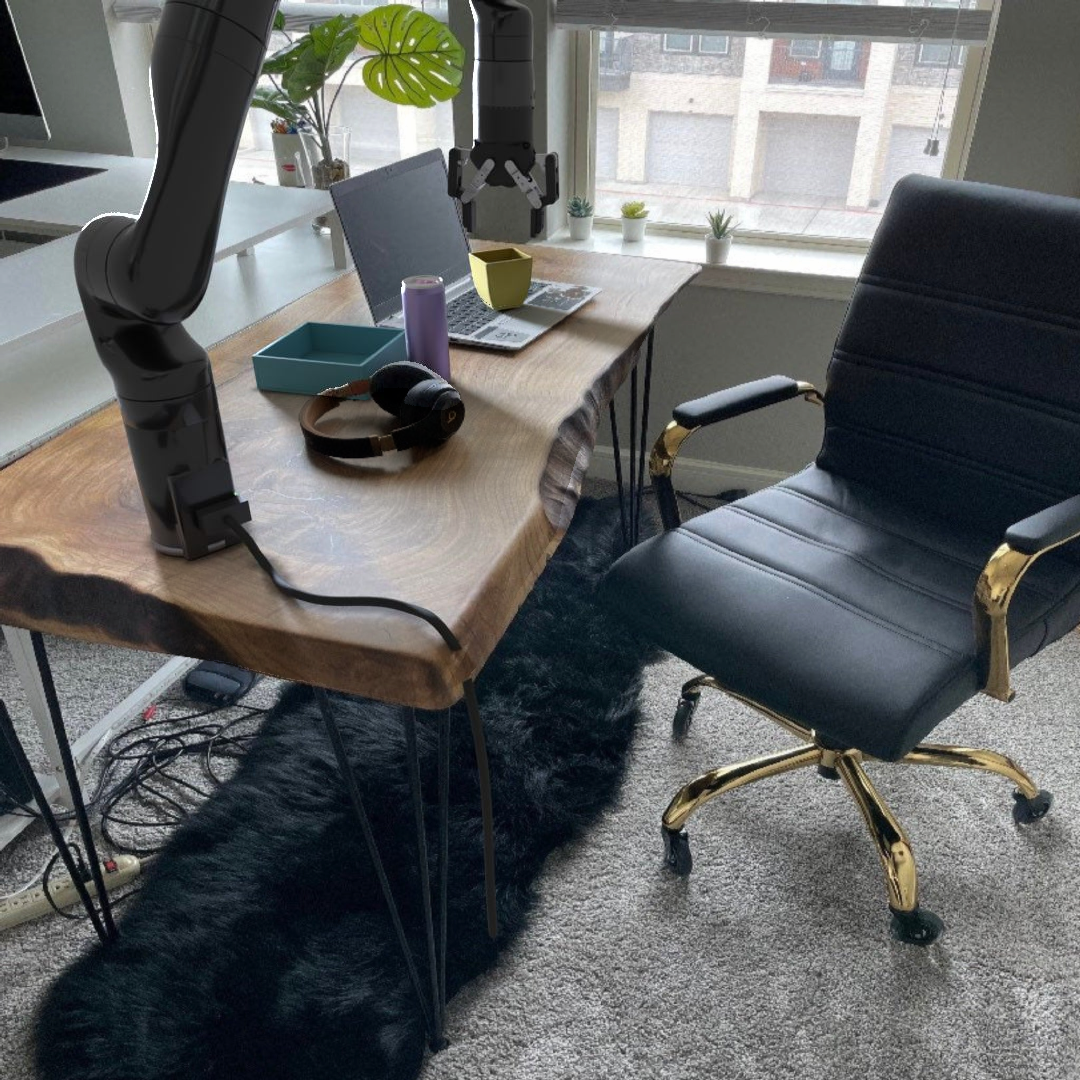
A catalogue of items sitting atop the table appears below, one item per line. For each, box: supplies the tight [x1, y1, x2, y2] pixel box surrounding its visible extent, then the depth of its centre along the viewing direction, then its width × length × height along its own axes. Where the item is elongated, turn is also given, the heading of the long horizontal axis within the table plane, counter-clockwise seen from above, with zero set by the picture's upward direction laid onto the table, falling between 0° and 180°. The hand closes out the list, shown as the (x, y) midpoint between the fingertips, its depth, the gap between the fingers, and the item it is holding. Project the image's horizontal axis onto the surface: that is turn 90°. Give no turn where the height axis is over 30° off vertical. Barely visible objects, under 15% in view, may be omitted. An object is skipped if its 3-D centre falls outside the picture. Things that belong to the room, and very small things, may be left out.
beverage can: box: [401, 274, 452, 384], centre depth 140 cm, size 6×6×15 cm
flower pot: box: [468, 246, 534, 311], centre depth 172 cm, size 9×9×9 cm
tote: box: [251, 320, 408, 401], centre depth 146 cm, size 17×16×5 cm
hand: (503, 234), depth 130 cm, fingers open, 8 cm apart
